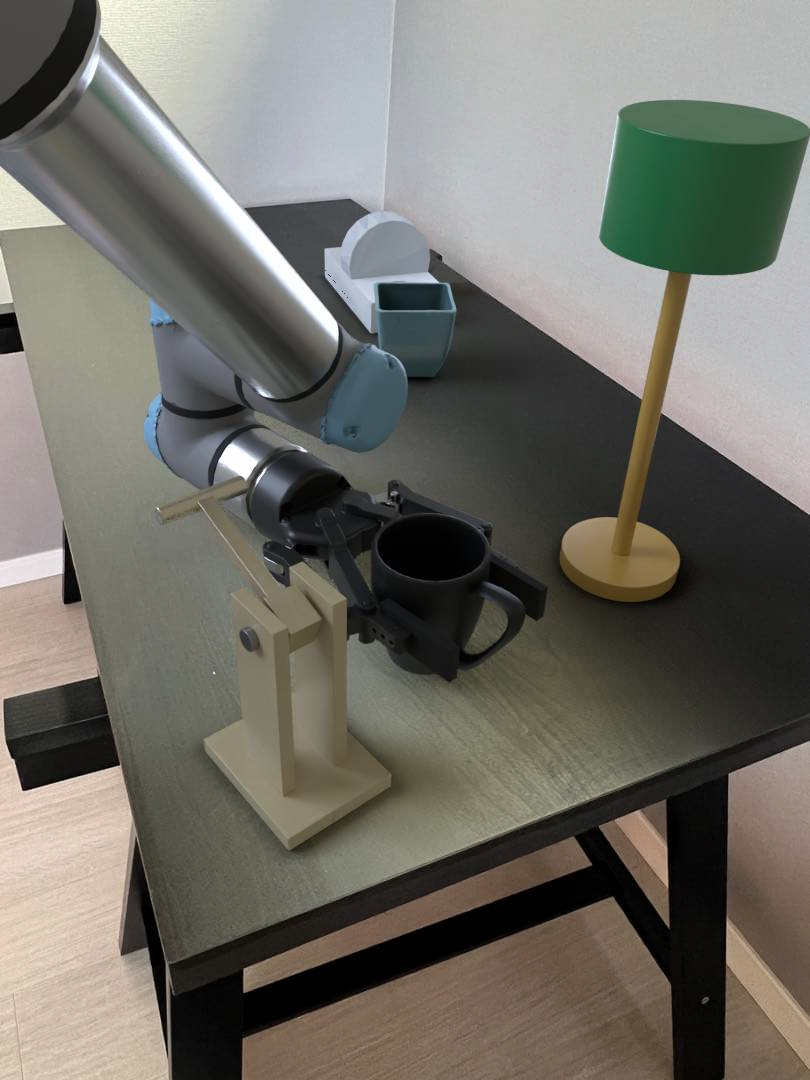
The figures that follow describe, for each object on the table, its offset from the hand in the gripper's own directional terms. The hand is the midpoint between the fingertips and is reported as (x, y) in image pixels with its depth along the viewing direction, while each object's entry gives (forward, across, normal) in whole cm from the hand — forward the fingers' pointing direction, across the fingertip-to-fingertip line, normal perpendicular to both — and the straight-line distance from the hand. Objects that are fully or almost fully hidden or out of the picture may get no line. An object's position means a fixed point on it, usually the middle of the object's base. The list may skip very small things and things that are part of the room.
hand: (500, 633), depth 63 cm
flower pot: (-42, -34, -8) cm, 55 cm away
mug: (-5, 0, -6) cm, 8 cm away
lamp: (-4, -21, -8) cm, 23 cm away
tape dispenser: (-60, -47, -8) cm, 76 cm away
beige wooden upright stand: (-5, +13, -8) cm, 16 cm away
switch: (-10, +13, +6) cm, 17 cm away
